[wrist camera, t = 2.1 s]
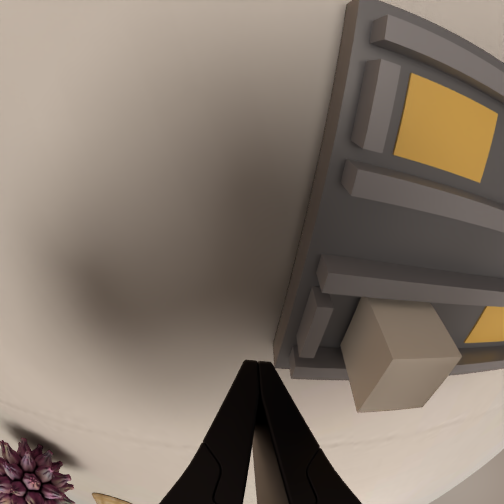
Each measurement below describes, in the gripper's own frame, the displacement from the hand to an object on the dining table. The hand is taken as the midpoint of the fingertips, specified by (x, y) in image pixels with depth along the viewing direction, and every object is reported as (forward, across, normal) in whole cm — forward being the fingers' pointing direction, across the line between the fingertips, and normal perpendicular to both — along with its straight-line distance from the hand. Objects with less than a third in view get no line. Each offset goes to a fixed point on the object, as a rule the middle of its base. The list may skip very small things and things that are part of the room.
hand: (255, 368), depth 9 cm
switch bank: (+5, -9, -4) cm, 11 cm away
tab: (+3, -5, 0) cm, 6 cm away
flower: (+5, +22, +29) cm, 36 cm away
